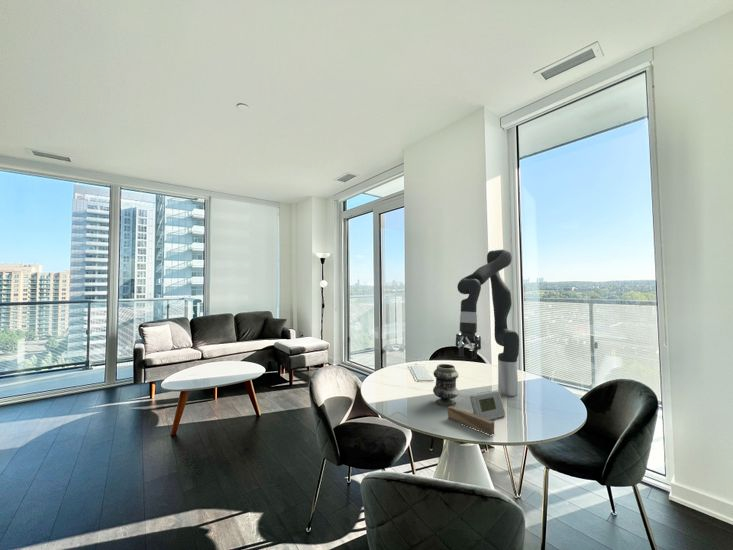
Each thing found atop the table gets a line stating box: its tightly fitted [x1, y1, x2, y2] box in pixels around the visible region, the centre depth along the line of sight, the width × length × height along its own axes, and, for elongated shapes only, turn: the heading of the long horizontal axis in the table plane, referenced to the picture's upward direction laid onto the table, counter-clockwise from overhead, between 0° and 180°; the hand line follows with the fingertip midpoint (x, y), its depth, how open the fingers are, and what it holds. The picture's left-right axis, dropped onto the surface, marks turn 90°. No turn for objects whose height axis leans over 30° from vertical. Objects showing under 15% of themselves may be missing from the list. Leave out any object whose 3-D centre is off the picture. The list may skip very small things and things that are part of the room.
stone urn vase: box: [432, 363, 460, 408], centre depth 159 cm, size 12×12×18 cm
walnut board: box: [447, 406, 495, 435], centre depth 134 cm, size 2×20×5 cm, turn 39°
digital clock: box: [470, 389, 506, 421], centre depth 142 cm, size 16×9×11 cm, turn 103°
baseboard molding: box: [408, 363, 434, 381], centre depth 207 cm, size 31×3×12 cm
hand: (467, 357), depth 149 cm, fingers open, 8 cm apart
